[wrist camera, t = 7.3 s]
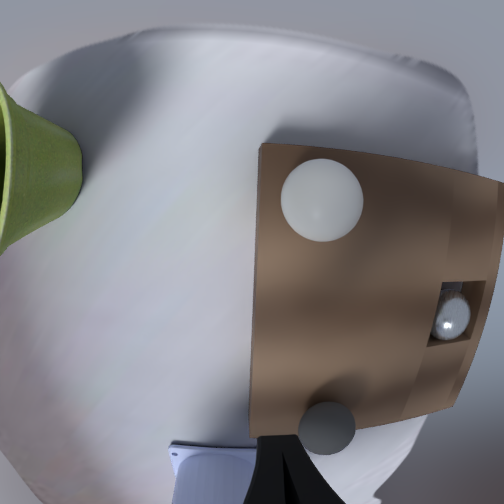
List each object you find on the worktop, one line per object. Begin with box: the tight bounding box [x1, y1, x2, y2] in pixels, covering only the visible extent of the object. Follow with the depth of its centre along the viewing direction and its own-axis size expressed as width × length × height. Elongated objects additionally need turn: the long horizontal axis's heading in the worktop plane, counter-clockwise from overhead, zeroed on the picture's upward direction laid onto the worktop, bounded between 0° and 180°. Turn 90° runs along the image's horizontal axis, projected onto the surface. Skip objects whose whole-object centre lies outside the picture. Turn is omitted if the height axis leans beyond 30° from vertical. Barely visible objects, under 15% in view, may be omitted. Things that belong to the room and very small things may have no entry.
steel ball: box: [430, 289, 471, 340], centre depth 17 cm, size 4×4×4 cm
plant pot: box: [0, 83, 83, 256], centre depth 11 cm, size 9×9×9 cm
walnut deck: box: [248, 143, 504, 438], centre depth 17 cm, size 18×17×2 cm
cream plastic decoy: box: [281, 159, 363, 242], centre depth 12 cm, size 4×4×4 cm
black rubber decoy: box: [298, 402, 356, 455], centre depth 15 cm, size 4×4×4 cm
